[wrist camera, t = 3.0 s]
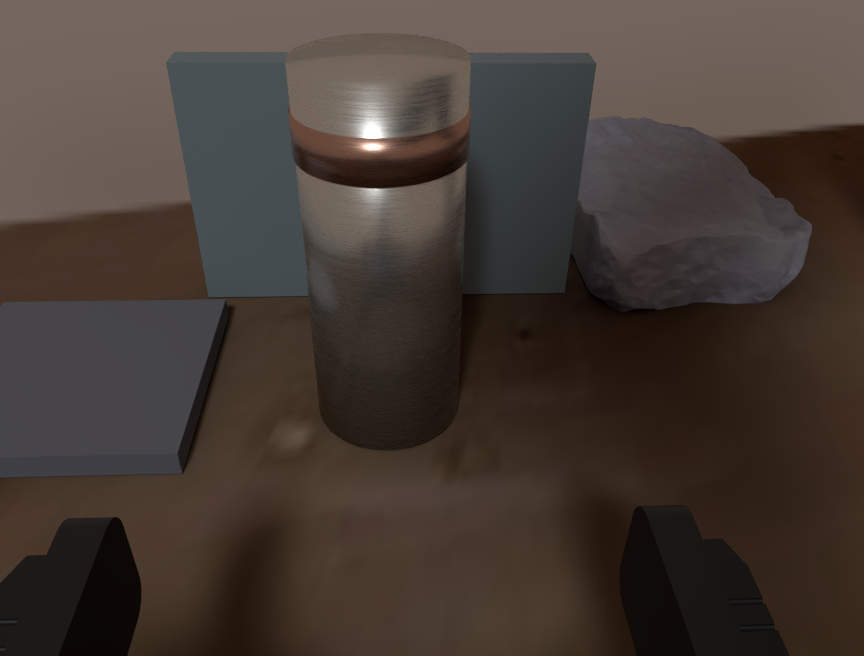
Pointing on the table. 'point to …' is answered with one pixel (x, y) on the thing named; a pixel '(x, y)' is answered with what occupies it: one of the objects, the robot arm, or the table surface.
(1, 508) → the table surface
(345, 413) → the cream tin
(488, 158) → the slate screen
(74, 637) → the robot arm
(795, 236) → the stone block
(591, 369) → the table surface
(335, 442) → the table surface
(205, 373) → the dark rubber mat
